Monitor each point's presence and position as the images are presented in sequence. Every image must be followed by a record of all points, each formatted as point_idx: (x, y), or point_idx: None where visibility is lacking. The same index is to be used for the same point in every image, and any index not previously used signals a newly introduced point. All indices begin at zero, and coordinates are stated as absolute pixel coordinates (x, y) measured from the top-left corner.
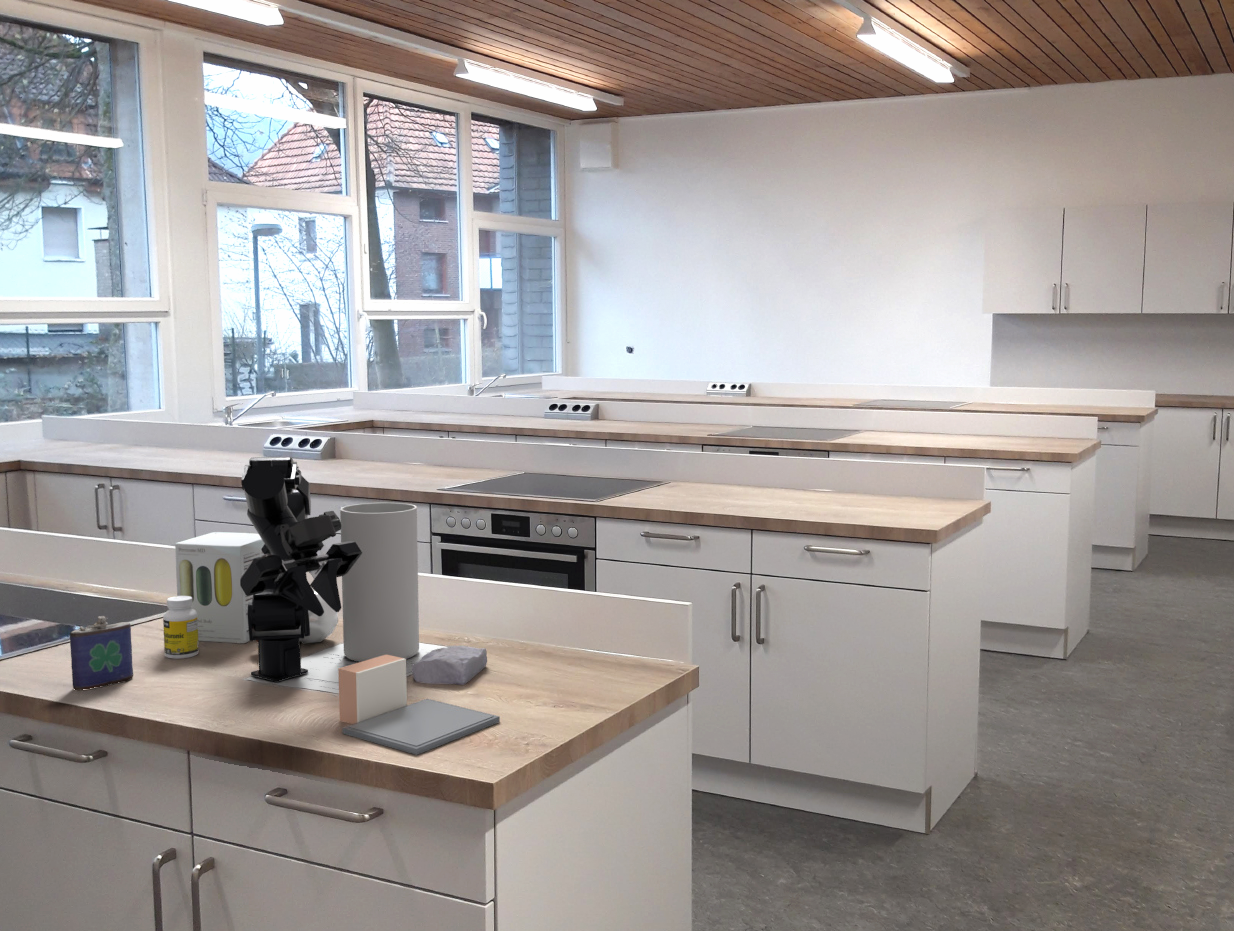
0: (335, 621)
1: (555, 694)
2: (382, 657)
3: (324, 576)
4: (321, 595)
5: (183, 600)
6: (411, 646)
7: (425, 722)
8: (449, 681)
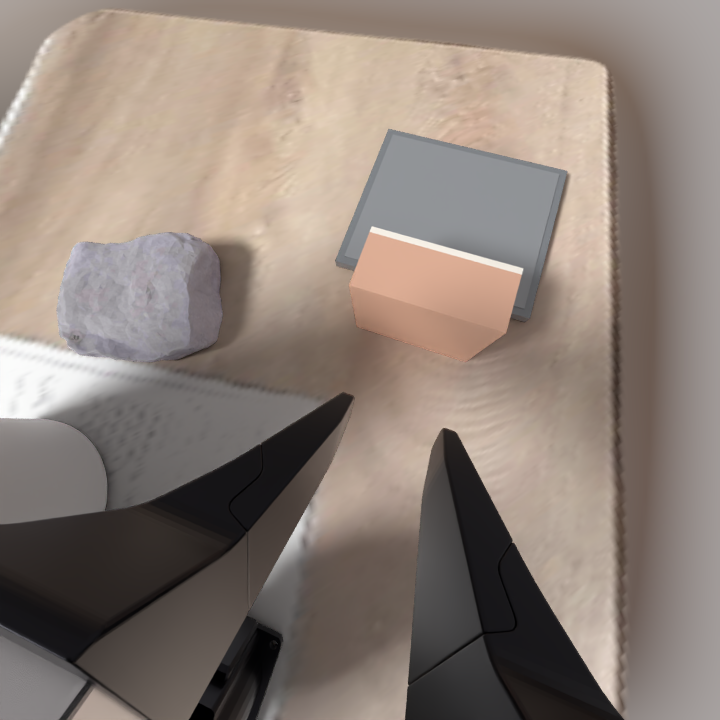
0: None
1: (242, 117)
2: (377, 281)
3: (215, 594)
4: (277, 555)
5: None
6: (37, 420)
7: (457, 207)
8: (218, 277)
